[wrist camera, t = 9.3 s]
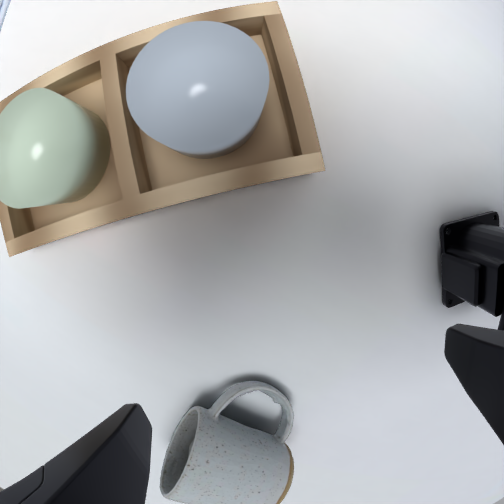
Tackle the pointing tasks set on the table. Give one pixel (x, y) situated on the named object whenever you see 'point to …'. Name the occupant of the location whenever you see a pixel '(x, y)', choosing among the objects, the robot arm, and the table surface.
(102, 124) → the sage green cylinder
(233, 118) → the pale blue rounded cylinder
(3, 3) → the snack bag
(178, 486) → the ceramic mug
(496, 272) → the robot arm
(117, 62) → the divided wooden tray
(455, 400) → the table surface
